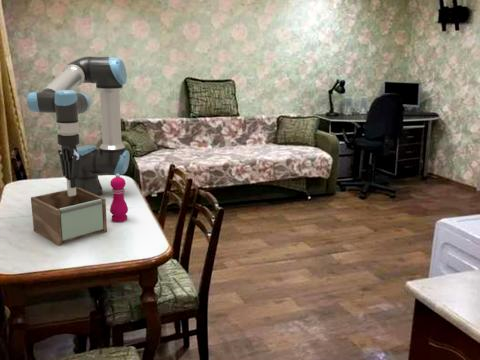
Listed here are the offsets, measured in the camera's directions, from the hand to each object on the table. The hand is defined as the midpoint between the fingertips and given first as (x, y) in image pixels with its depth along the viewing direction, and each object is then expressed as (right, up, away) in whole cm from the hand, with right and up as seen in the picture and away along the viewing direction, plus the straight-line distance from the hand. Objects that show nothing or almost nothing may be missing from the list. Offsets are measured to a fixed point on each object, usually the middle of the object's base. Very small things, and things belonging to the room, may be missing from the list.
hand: (71, 195), depth 184 cm
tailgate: (+4, -15, +1) cm, 15 cm away
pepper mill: (+13, -11, +20) cm, 27 cm away
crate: (-3, -14, +7) cm, 16 cm away
